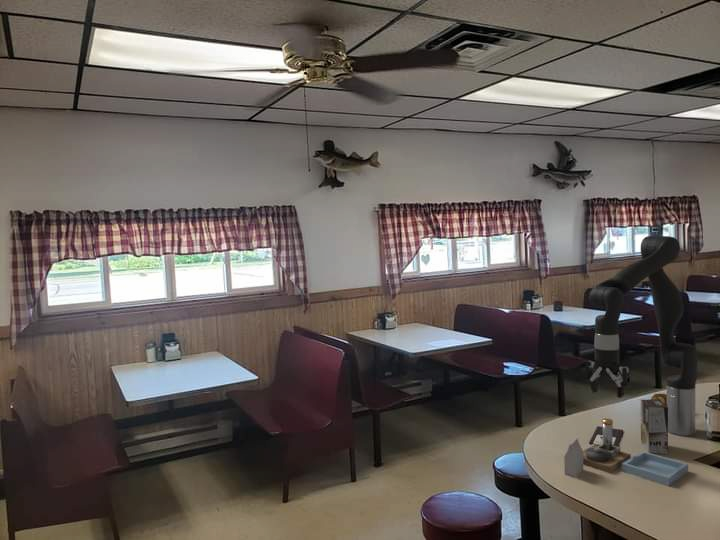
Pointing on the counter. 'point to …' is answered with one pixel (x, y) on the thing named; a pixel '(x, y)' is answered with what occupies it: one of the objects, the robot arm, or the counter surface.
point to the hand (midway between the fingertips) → (607, 394)
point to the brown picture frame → (598, 436)
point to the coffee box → (654, 426)
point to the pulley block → (604, 458)
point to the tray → (655, 468)
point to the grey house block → (574, 459)
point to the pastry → (660, 398)
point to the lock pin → (607, 434)
